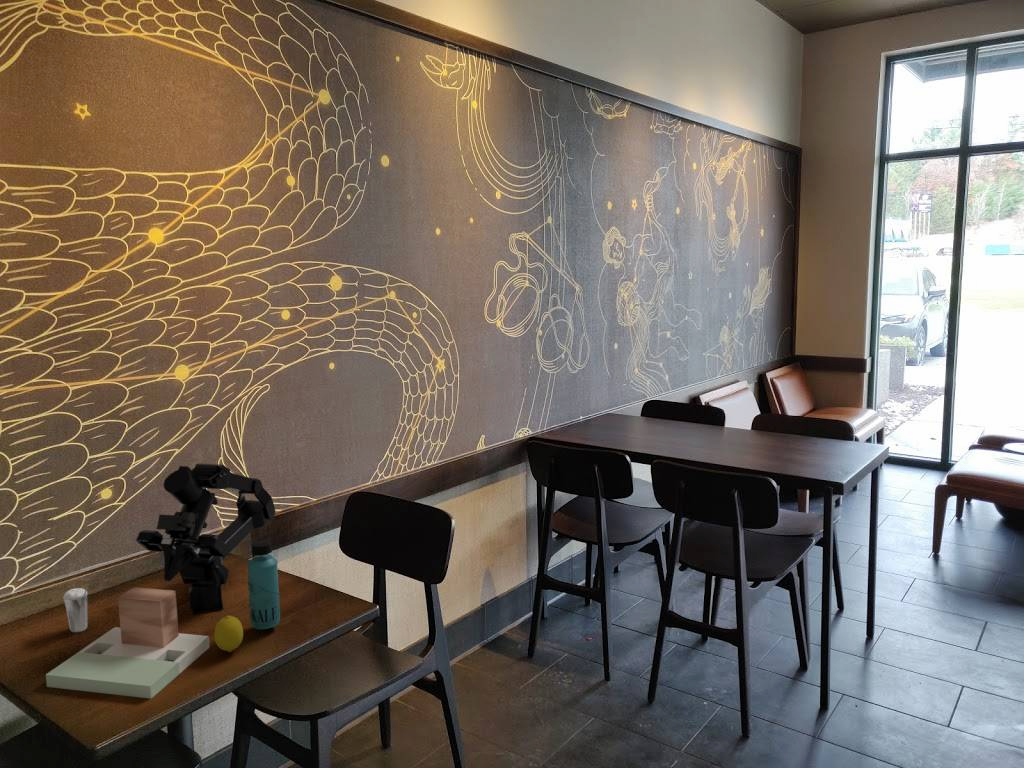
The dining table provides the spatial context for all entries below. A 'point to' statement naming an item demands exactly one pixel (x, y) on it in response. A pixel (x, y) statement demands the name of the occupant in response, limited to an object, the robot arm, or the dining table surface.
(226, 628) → the lemon
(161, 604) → the terracotta block
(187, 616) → the dining table surface
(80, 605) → the milkshake
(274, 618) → the beverage bottle
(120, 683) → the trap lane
